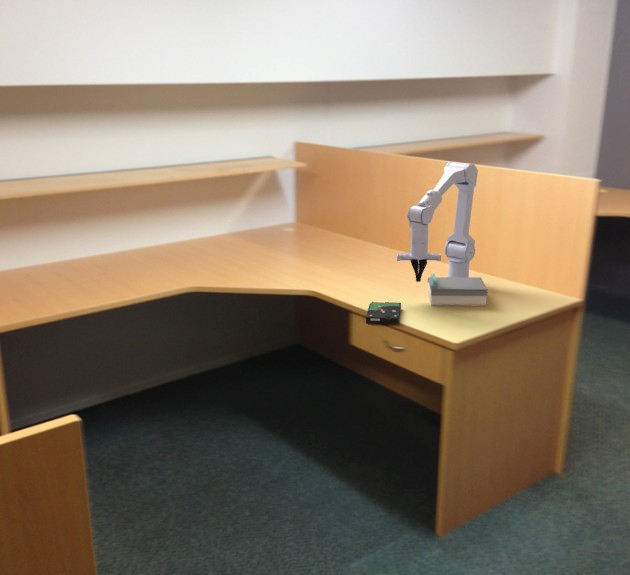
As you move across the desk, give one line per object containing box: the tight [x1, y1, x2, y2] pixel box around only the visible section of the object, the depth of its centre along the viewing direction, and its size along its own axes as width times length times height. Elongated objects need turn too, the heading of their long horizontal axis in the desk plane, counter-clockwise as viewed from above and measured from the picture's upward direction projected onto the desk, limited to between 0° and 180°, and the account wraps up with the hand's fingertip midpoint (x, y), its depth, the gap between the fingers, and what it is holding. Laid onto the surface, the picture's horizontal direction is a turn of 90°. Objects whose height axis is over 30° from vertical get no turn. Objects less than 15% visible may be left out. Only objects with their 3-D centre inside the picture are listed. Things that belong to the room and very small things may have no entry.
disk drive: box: [365, 301, 402, 325], centre depth 222 cm, size 10×3×15 cm
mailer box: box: [427, 280, 487, 307], centre depth 235 cm, size 13×18×5 cm
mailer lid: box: [427, 273, 489, 297], centre depth 234 cm, size 15×18×4 cm
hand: (418, 280), depth 234 cm, fingers closed
